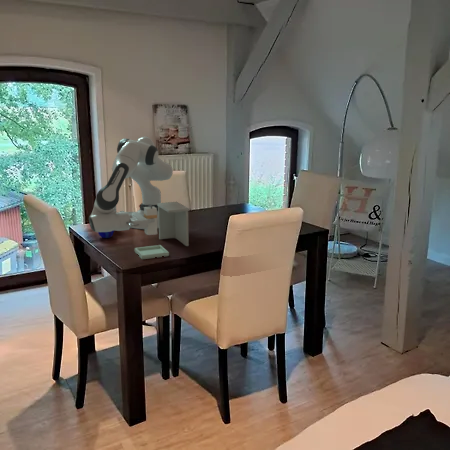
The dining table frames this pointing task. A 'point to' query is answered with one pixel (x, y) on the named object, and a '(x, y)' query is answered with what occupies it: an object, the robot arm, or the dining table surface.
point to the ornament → (106, 234)
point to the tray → (151, 252)
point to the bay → (173, 221)
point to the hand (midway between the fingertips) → (152, 218)
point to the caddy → (149, 213)
